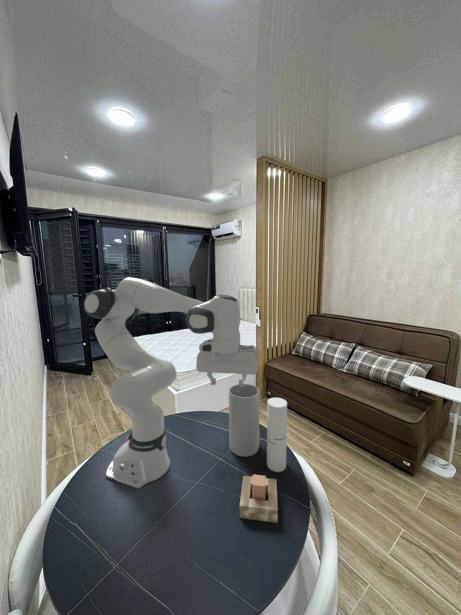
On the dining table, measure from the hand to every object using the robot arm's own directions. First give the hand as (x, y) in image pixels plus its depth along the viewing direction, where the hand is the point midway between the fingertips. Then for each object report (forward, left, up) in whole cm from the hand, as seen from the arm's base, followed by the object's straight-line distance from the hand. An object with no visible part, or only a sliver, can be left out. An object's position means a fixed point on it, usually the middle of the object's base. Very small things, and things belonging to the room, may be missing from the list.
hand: (227, 385), depth 80 cm
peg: (+11, -7, -35) cm, 38 cm away
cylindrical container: (+17, +10, -35) cm, 40 cm away
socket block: (+11, -7, -35) cm, 37 cm away
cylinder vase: (+4, +18, -35) cm, 40 cm away
